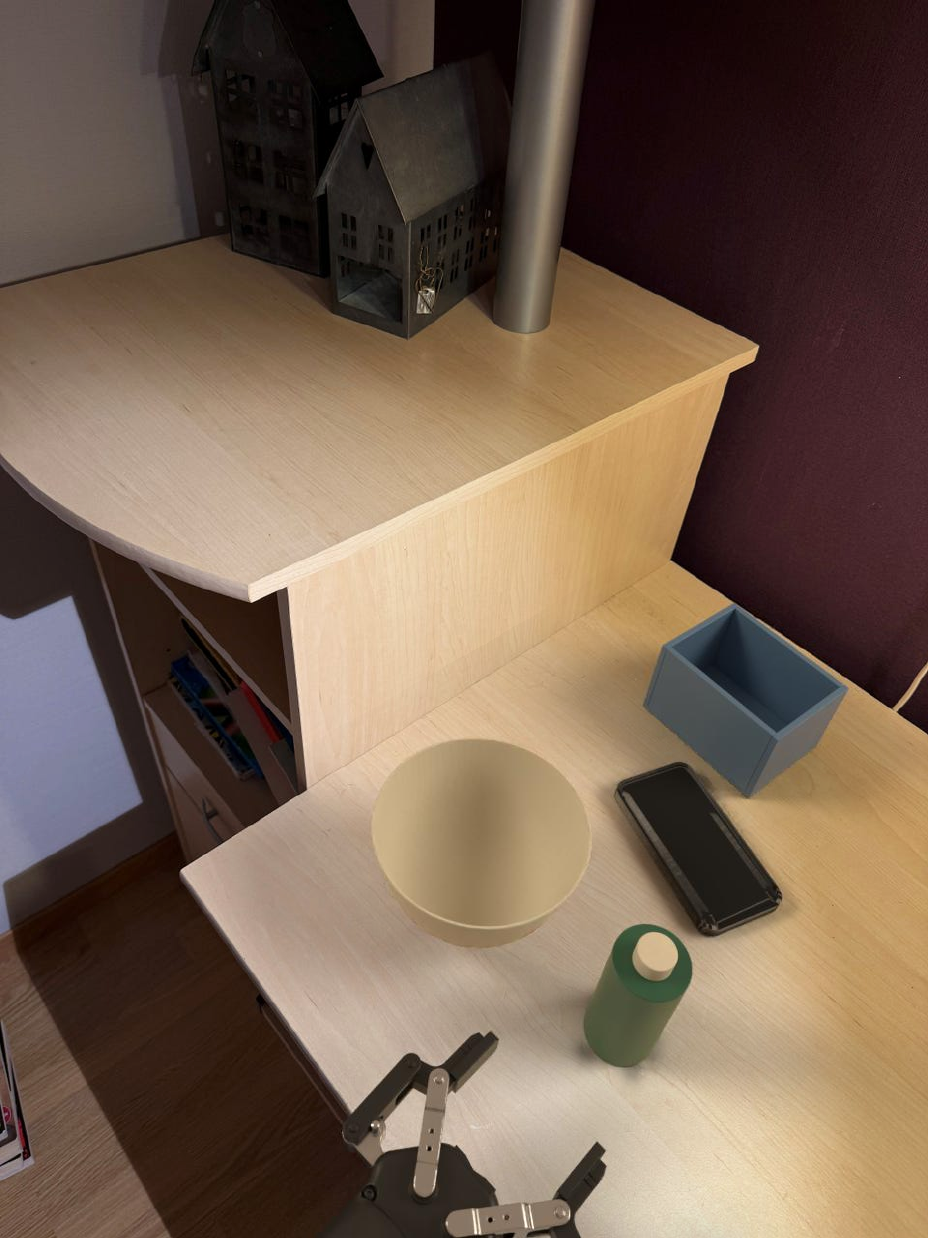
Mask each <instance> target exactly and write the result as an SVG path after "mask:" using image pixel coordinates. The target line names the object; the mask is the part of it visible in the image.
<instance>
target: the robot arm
mask: <svg viewBox="0 0 928 1238" xmlns="http://www.w3.org/2000/svg"><path fill="white" fill-rule="evenodd" d="M499 1043H500V1038H499V1037H498V1036H497V1035H496V1034H495V1033H494V1032H493V1031H492V1030H490V1031H488V1032H487V1033H486V1034H485V1035H483V1034H482V1033H481V1032H480V1031H478V1032H476V1033H473V1034H471V1035H469V1037H468V1038H467V1039H466V1040H465V1041H464V1042H463V1043H462V1044H461V1045H460V1046H459V1047H458V1048H457V1049H456V1050H455V1051H454V1052H453V1053H452V1054H451V1055H450V1056H449V1057H448V1058H447V1059H446V1060H445V1061H444V1062H443V1063H442V1064H440V1065H432V1064H429V1063H428V1062H425V1061H424V1060H421V1057H420V1056H419V1054H417V1053H414V1052H409V1053H406V1054H405V1055H403V1056H402V1058H401V1059H400V1060H399V1061H398V1062H397V1063H396V1064H395V1065H394V1067H393V1068H392V1069H390V1071H389V1072H388V1073H387V1074H386V1075H385V1076H384V1078H383V1079H382V1080H381V1081H379V1082H378V1084H377V1085H376V1086H375V1087H374V1089H372V1090H371V1091H370V1093H369V1094H368V1095H367V1096H366V1097H365V1098H364V1099H363V1101H361V1103H359V1105H358V1106H357V1107H356V1108H355V1109H354V1110H353V1111H352V1113H351V1114H350V1115H349V1116H348V1117H347V1118H346V1119H345V1120H344V1122H343V1124H342V1142H343V1146H344V1148H345V1149H346V1151H348V1152H350V1153H356V1154H357V1155H358V1157H359V1158H360V1159H361V1160H362V1161H363V1162H364V1163H365V1165H367V1166H368V1168H370V1170H371V1172H370V1175H369V1177H368V1178H367V1181H366V1182H365V1184H364V1185H363V1187H362V1188H361V1189H360V1190H359V1191H358V1192H357V1193H356V1194H355V1195H354V1196H353V1197H352V1198H351V1199H350V1201H349V1202H348V1203H347V1204H346V1205H345V1206H344V1207H343V1208H342V1209H341V1210H340V1211H339V1212H338V1213H337V1214H336V1215H335V1216H334V1217H333V1218H332V1219H331V1221H329V1223H328V1224H327V1225H326V1226H325V1227H324V1228H323V1229H322V1230H321V1231H320V1232H319V1233H318V1234H317V1235H316V1236H315V1237H314V1238H547V1237H550V1238H582V1236H581V1234H580V1232H579V1230H578V1228H577V1224H576V1214H577V1212H578V1211H579V1209H580V1208H581V1207H582V1206H583V1205H584V1203H585V1202H586V1201H587V1199H588V1198H589V1197H590V1196H591V1194H592V1193H593V1192H594V1190H595V1189H596V1188H597V1186H598V1185H599V1184H600V1183H601V1181H602V1180H603V1178H604V1177H605V1175H606V1170H607V1167H608V1166H607V1164H605V1162H604V1161H603V1160H602V1158H603V1157H604V1155H605V1154H606V1152H607V1150H606V1148H604V1146H603V1145H602V1144H600V1142H599V1141H596V1142H595V1143H594V1144H593V1145H592V1146H591V1148H590V1149H588V1151H587V1153H586V1154H585V1155H583V1158H582V1159H581V1160H580V1161H579V1163H578V1164H577V1165H576V1166H575V1167H574V1169H573V1170H572V1171H571V1173H569V1175H568V1176H567V1177H566V1179H564V1181H563V1182H562V1183H561V1185H560V1186H559V1187H558V1189H557V1190H556V1191H555V1193H554V1194H553V1197H552V1198H551V1200H543V1201H536V1202H523V1201H521V1202H514V1203H507V1204H500V1203H499V1199H498V1197H497V1194H496V1190H497V1189H496V1188H495V1187H494V1186H493V1184H492V1183H491V1182H490V1181H489V1180H488V1178H487V1177H485V1176H483V1175H482V1174H480V1173H479V1172H478V1171H476V1170H475V1169H474V1168H473V1166H472V1165H471V1164H472V1163H471V1162H470V1160H469V1158H468V1157H467V1155H466V1153H465V1152H464V1151H463V1150H462V1149H461V1147H459V1146H458V1145H457V1144H456V1145H455V1146H454V1145H452V1144H450V1143H448V1142H442V1138H443V1133H444V1132H443V1131H444V1125H445V1115H446V1108H447V1101H448V1095H450V1093H451V1092H453V1093H454V1094H456V1093H457V1092H459V1090H461V1088H462V1087H464V1085H465V1084H466V1083H467V1082H468V1081H469V1080H470V1079H471V1078H472V1077H473V1076H474V1075H475V1074H476V1072H478V1070H479V1069H480V1068H481V1067H483V1065H484V1064H485V1063H486V1062H487V1061H489V1059H490V1058H491V1057H492V1056H493V1054H494V1053H495V1052H496V1050H497V1049H498V1047H499ZM413 1090H415V1091H417V1092H419V1093H421V1094H423V1095H425V1096H426V1097H425V1103H424V1111H423V1116H422V1121H421V1122H422V1123H421V1129H420V1137H419V1143H418V1145H415V1146H408V1147H402V1148H396V1149H390V1150H387V1151H383V1149H382V1146H381V1145H382V1143H383V1141H384V1140H385V1138H386V1133H387V1132H386V1130H387V1126H386V1120H388V1118H389V1117H390V1116H391V1115H392V1114H393V1112H395V1110H396V1109H397V1108H398V1107H399V1106H400V1104H402V1102H403V1101H404V1100H405V1099H406V1097H408V1095H409V1094H410V1093H411V1092H412V1091H413Z"/></svg>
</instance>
